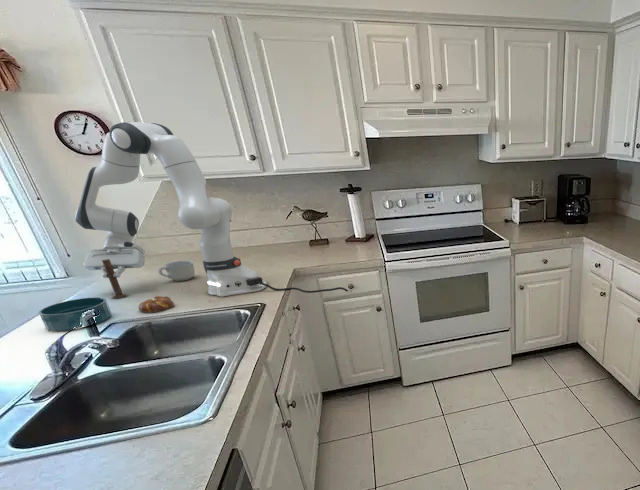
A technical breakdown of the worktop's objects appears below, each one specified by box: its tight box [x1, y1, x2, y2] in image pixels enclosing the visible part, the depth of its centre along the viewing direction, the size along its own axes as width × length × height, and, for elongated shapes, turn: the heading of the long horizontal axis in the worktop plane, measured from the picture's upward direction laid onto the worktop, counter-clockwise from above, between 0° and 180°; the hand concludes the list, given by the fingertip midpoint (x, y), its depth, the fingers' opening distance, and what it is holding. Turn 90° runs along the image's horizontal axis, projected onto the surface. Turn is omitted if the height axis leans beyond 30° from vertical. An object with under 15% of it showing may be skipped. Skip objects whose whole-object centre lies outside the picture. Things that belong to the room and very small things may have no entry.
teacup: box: [158, 259, 196, 282], centre depth 194 cm, size 14×11×8 cm
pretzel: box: [137, 295, 175, 313], centre depth 161 cm, size 12×11×4 cm
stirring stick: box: [102, 259, 127, 300], centre depth 171 cm, size 4×4×16 cm
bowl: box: [38, 296, 112, 332], centre depth 148 cm, size 17×17×6 cm
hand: (111, 277), depth 170 cm, fingers closed on stirring stick, 2 cm apart
